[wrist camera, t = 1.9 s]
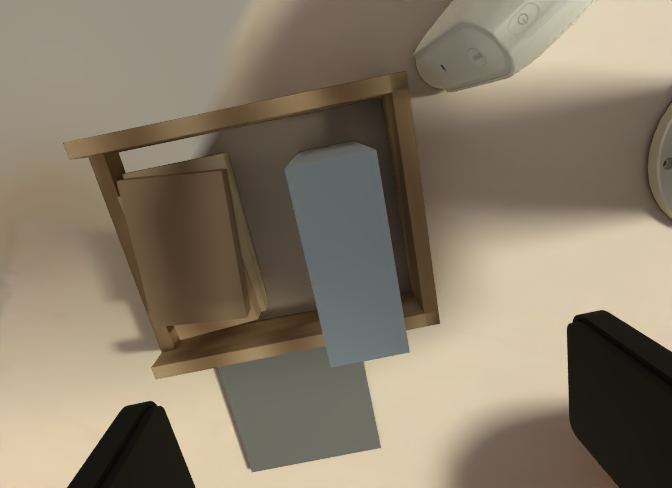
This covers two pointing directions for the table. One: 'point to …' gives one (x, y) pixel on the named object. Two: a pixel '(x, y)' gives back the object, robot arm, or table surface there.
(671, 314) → the table surface
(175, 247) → the offcut stack
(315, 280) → the rectangular block
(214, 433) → the table surface
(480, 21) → the white rounded tombstone
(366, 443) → the mat
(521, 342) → the table surface
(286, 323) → the wooden frame
